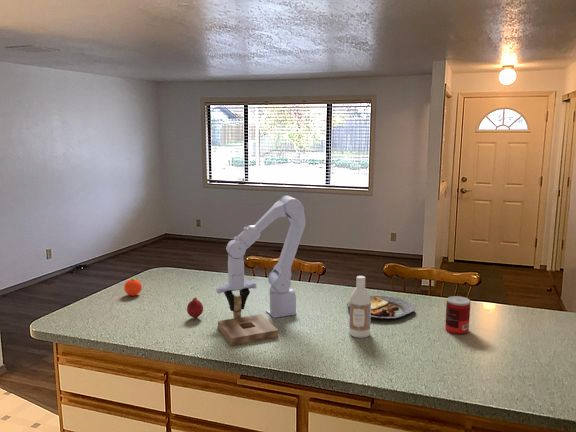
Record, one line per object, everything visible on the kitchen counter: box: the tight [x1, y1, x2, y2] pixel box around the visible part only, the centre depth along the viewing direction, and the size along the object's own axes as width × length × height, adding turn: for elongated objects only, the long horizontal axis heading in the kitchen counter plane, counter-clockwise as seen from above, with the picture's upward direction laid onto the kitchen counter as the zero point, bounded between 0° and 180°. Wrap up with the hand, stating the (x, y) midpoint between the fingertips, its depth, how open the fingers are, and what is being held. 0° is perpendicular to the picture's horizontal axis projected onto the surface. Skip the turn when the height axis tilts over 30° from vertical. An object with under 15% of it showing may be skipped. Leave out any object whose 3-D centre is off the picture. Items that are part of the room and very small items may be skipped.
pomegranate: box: [186, 296, 204, 319], centre depth 183 cm, size 6×6×8 cm
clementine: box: [124, 278, 143, 296], centre depth 210 cm, size 8×7×7 cm
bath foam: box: [348, 275, 372, 339], centre depth 167 cm, size 7×7×20 cm
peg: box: [232, 294, 242, 319], centre depth 183 cm, size 3×3×8 cm
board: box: [217, 313, 279, 347], centre depth 171 cm, size 16×16×2 cm
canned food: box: [444, 295, 471, 336], centre depth 171 cm, size 8×8×11 cm
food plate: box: [347, 294, 416, 320], centre depth 191 cm, size 25×23×4 cm
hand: (237, 309), depth 183 cm, fingers closed on peg, 3 cm apart
